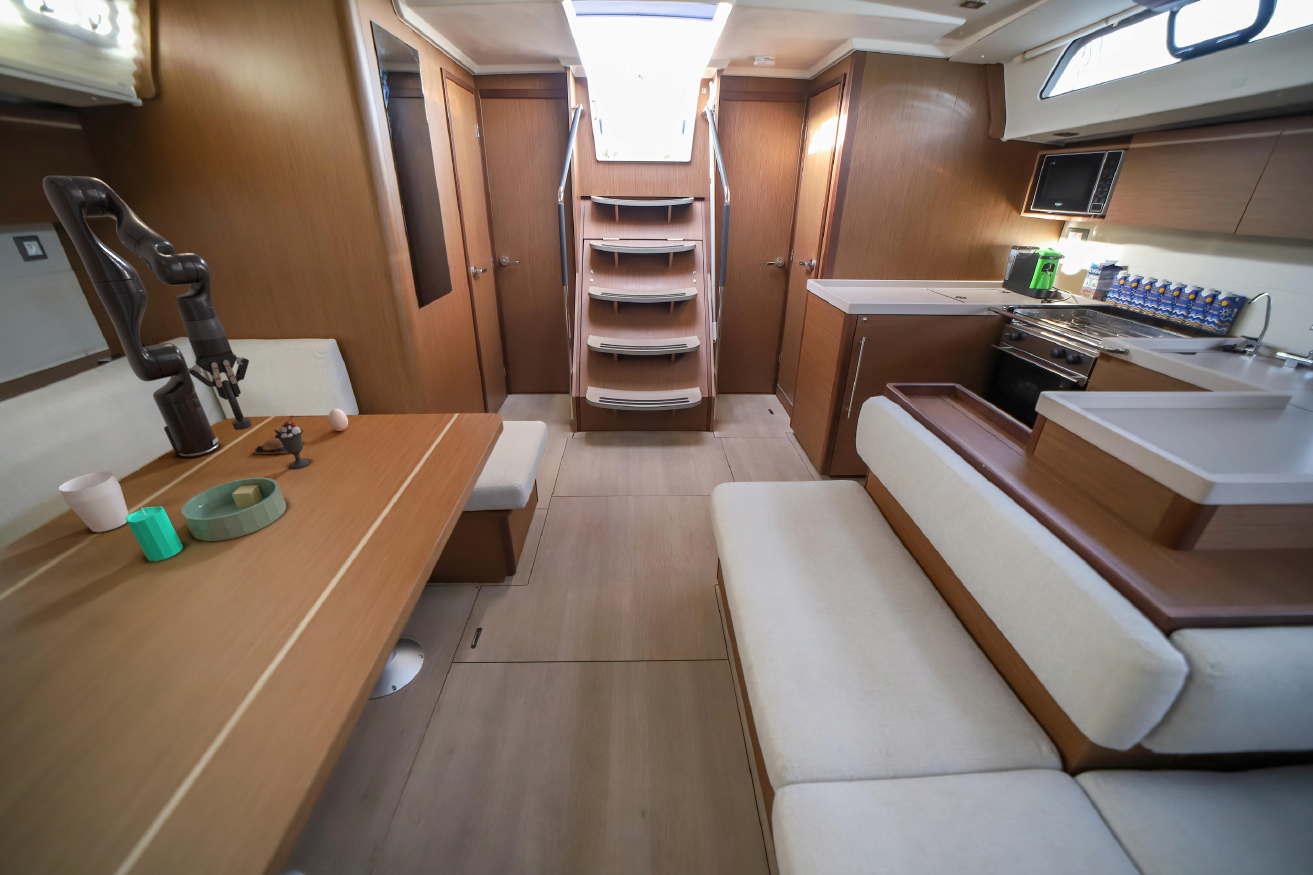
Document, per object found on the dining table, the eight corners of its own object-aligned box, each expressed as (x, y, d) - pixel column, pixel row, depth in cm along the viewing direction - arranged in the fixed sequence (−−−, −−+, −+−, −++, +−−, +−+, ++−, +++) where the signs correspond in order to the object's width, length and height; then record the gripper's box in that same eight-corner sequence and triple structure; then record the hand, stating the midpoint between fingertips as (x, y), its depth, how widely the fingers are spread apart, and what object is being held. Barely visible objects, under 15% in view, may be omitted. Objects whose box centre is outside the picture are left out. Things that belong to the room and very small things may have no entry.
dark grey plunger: (231, 430, 139) (211, 383, 133) (239, 424, 142) (220, 378, 136) (247, 429, 140) (228, 382, 133) (254, 423, 143) (237, 377, 137)
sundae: (318, 459, 150) (303, 413, 143) (302, 470, 144) (285, 423, 137) (298, 458, 150) (282, 412, 144) (280, 469, 144) (263, 422, 138)
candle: (189, 547, 113) (167, 502, 107) (158, 563, 107) (133, 517, 102) (171, 541, 114) (149, 497, 109) (140, 557, 109) (114, 512, 104)
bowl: (171, 545, 113) (160, 523, 110) (221, 500, 130) (212, 480, 127) (262, 536, 116) (253, 515, 113) (299, 493, 133) (292, 474, 130)
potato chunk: (237, 507, 126) (231, 494, 124) (245, 499, 129) (240, 486, 127) (255, 506, 126) (249, 492, 125) (263, 497, 130) (257, 484, 128)
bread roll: (304, 442, 160) (301, 432, 158) (287, 454, 152) (283, 444, 151) (270, 442, 160) (266, 432, 158) (252, 454, 152) (247, 444, 150)
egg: (348, 433, 166) (341, 411, 163) (329, 435, 165) (322, 413, 161) (352, 426, 171) (346, 405, 167) (334, 428, 170) (327, 406, 166)
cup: (144, 518, 122) (121, 476, 117) (95, 539, 115) (68, 495, 109) (125, 509, 125) (102, 468, 120) (76, 529, 118) (50, 486, 113)
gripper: (233, 328, 136) (255, 387, 144) (168, 338, 126) (195, 402, 134) (244, 332, 133) (265, 393, 140) (177, 343, 122) (205, 408, 130)
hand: (231, 397), depth 137 cm, fingers closed on dark grey plunger, 2 cm apart
